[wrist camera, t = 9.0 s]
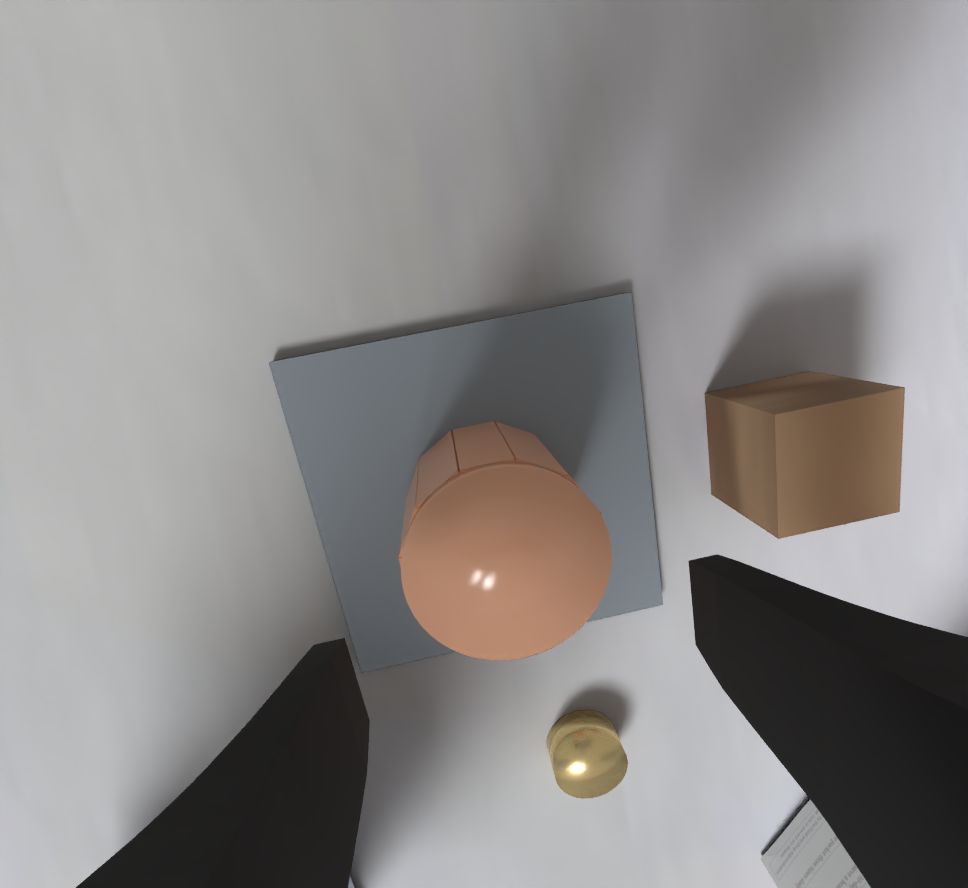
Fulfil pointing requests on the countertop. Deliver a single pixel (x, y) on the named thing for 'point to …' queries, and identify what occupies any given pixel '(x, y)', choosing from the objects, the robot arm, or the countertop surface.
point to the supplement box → (811, 856)
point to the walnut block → (806, 450)
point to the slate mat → (460, 403)
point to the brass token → (586, 754)
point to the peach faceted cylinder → (500, 545)
